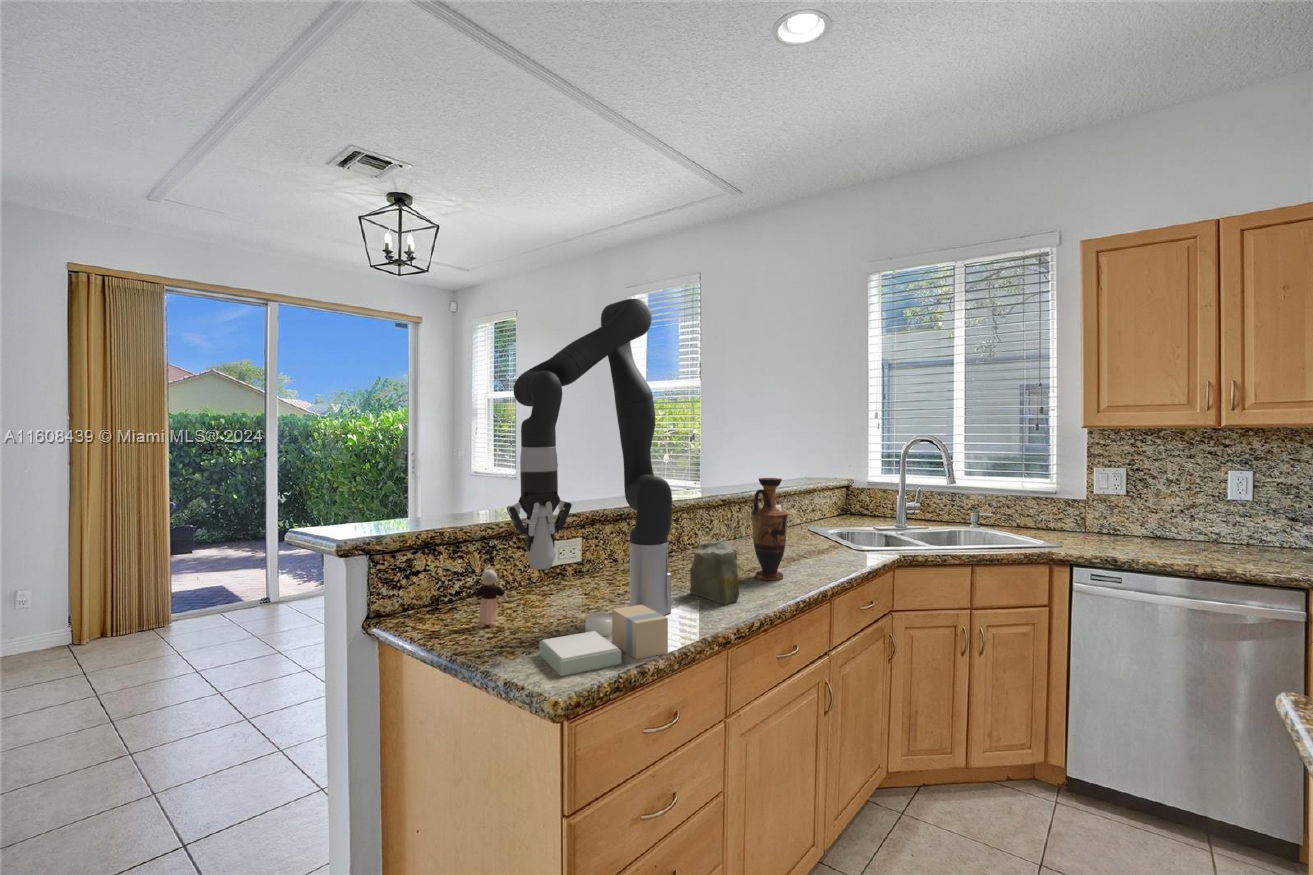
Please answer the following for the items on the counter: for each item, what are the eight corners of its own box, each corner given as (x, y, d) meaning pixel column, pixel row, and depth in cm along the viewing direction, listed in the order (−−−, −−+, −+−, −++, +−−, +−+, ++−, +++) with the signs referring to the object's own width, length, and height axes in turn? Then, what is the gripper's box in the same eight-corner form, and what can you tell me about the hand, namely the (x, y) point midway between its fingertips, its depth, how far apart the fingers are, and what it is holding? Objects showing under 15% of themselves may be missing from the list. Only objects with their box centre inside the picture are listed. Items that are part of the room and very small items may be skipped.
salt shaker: (556, 569, 124) (555, 505, 124) (528, 571, 122) (527, 507, 122) (553, 563, 130) (552, 502, 129) (525, 565, 128) (524, 503, 128)
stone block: (725, 606, 154) (725, 546, 154) (687, 593, 166) (687, 538, 166) (754, 599, 160) (754, 542, 160) (716, 587, 172) (716, 534, 172)
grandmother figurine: (473, 630, 135) (472, 572, 135) (471, 625, 138) (471, 569, 138) (508, 626, 138) (508, 570, 138) (506, 621, 141) (506, 566, 141)
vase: (788, 574, 188) (788, 477, 188) (787, 582, 177) (787, 479, 177) (752, 572, 190) (752, 476, 190) (749, 580, 180) (749, 479, 180)
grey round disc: (599, 624, 138) (600, 611, 138) (620, 631, 134) (620, 618, 134) (579, 631, 133) (579, 618, 133) (600, 639, 129) (600, 625, 129)
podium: (595, 644, 126) (595, 630, 126) (621, 663, 115) (621, 648, 115) (539, 654, 120) (539, 639, 120) (560, 676, 109) (560, 659, 109)
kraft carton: (642, 637, 130) (642, 604, 130) (668, 653, 121) (668, 617, 121) (612, 643, 127) (611, 609, 127) (636, 660, 117) (636, 623, 117)
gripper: (564, 466, 132) (565, 545, 133) (500, 469, 125) (501, 553, 126) (577, 468, 126) (579, 551, 126) (510, 471, 119) (512, 559, 119)
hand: (540, 552), depth 126 cm, fingers closed on salt shaker, 3 cm apart
